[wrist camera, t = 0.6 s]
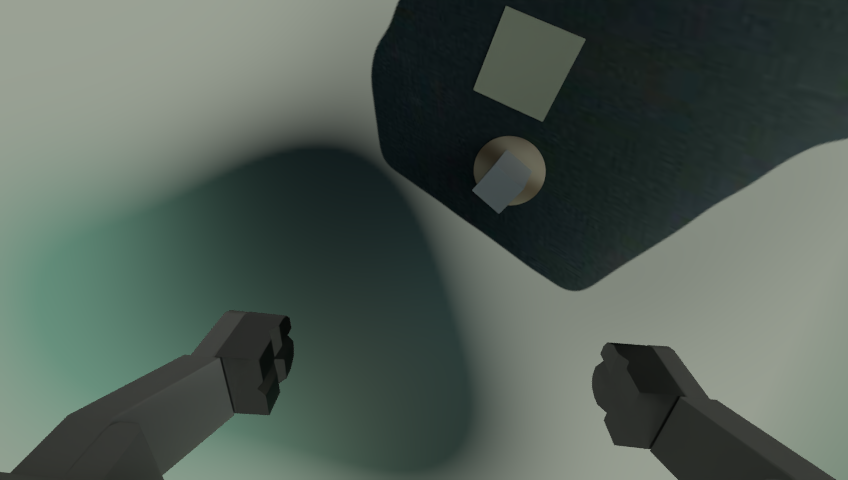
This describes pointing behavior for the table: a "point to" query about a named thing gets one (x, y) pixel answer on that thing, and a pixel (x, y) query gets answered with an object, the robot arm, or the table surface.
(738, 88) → the table surface
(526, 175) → the grey block
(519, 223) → the table surface
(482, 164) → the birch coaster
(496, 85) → the sage mat
